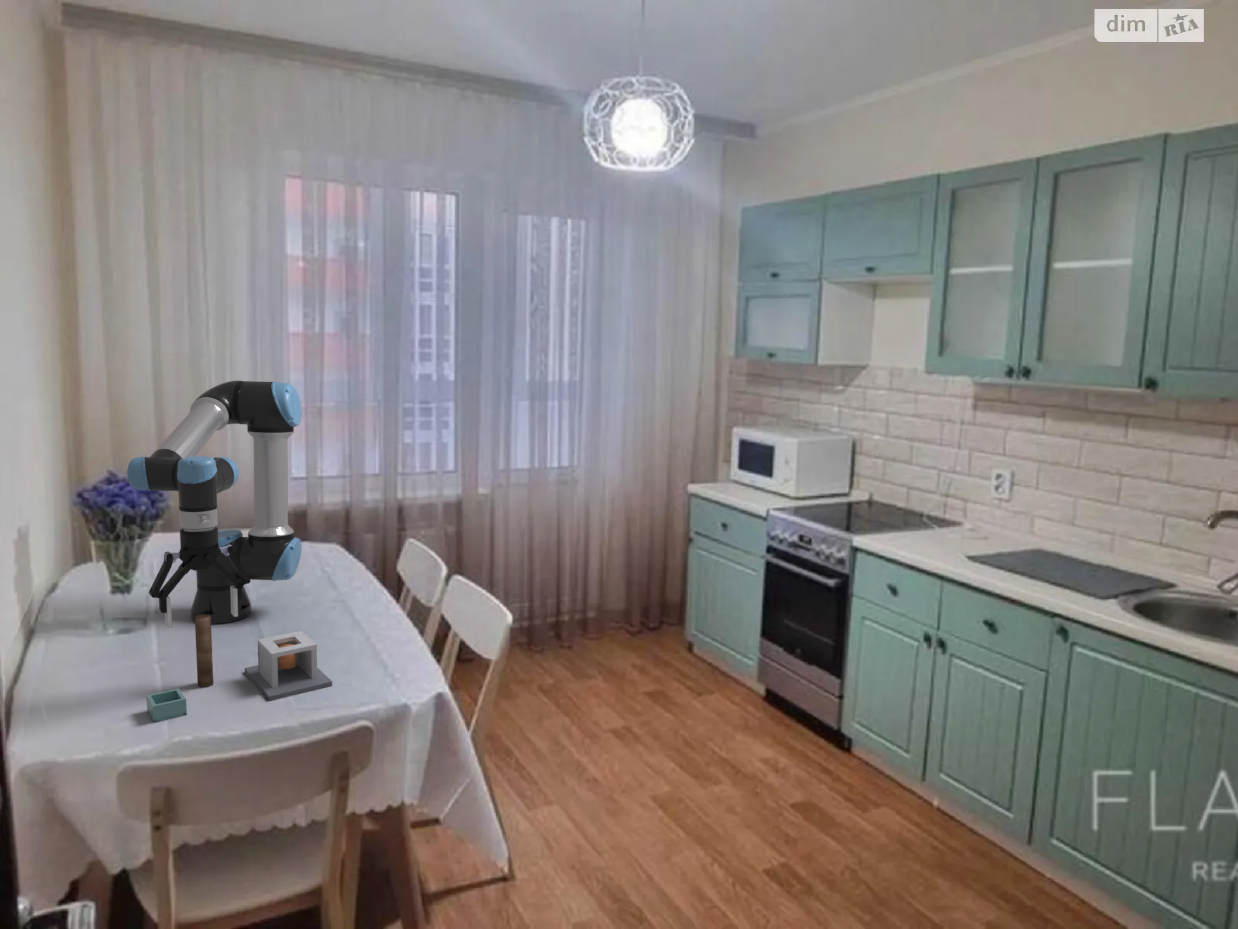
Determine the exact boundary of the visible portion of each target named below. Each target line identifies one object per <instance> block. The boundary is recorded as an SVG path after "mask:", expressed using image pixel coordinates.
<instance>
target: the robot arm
mask: <svg viewBox="0 0 1238 929" xmlns="http://www.w3.org/2000/svg"><path fill="white" fill-rule="evenodd" d="M302 413H303V412H302V405H301V399H300V396H299V393H298V391H297V388H295V387H294V385H292V384H290V383H288V382H287V383H286V382H282V381H281V382H278V381H255V380H253V381H252V380H250V381H249V380H230V381H226V382H223V383H220V384H217V385H216V386H213V387H211V388H209V389H208V390H206V391H204V392H203V393H202V394H200V395H199V396H198V397H196V399H195V400H194V401H193V402H192V403H191V405H190V408H189V413H188V414H187V415H186V416H185V418H183V420H182V421H181V422H180V423H179V424H178V425H177V426H176V428H174V430H173V431H172V432H171V433H170V434H168V436H167V437H166V439H165V440H164V441H163V442H162V443H161V444H160V445H159V446H158V447H157V449H156V450H154V452H153V453H152V454H151V455H150V456H136V457H133V458H132V459H131V460H130V462H129V463H128V466H127V469H126V470H127V471H126V478H127V480H128V484H129V485H130V487H131V488H132V489H135V490H141V491H148V492H152V491H158V492H159V491H160V492H163V491H164V492H178V514H179V516H178V518H179V527H180V528H181V529H180V530H179V540H180V542H179V544H180V545H179V546H180V548H179V551H178V552H170V551H165V552H164V553H163V562H162V565H161V567H160V569H159V570H158V573H157V575H156V576H155V578H154V580H153V582H152V585H151V587H150V589H149V590H148V594H149V595H150V597H151V598H153V599H158V609H159V612H160V613H161V614H164V624H165V626H166V627H167V629H172V628H173V622H172V621H173V620H172V619H173V618H172V600H171V597H170V596H169V595H170V594H171V593H172V592H173V591H174V589H175V588H176V586H177V585H178V584H179V583H180V582H181V581H182V580H183V578H184V577H185V576H186V575H187V574H188V573H189V572H190V571H195V573H196V574H195V575H196V576H195V577H196V592H195V595H194V599H193V601H192V604H191V608H190V618H191V621H193V622H195V617H196V616H199V615H210V616H211V625H217V624H218V625H219V624H221V625H222V624H228V623H233V622H237V621H240V620H243V619H246V618H248V617H249V616H250V615H251V614H252V602H251V600H250V598H249V596H248V593H247V590H246V588H245V585H248V584H250V583H251V580H252V581H253V580H254V581H258V580H259V581H272V582H276V581H287V580H291V578H293V577H294V575H295V574H296V572H297V569H298V568H299V564H300V560H301V556H302V541H301V539H300V538H298V537H295V536H294V534H295V530H294V529H293V528H292V527H291V526H290V525H289V513H288V512H289V460H288V459H289V453H288V452H289V448H288V446H289V444H288V441H289V438H290V437H291V436H292V435H293V434H294V432H295V431H294V430H295V427H299V425H300V423H302V422H301V421H302ZM227 425H246V427H247V434H249V435H250V436H251V437H252V438H253V526H252V527H251V529H249V530H248V532H247V536H243V535H244V534H243V532H242V531H241V530H240V529H239V530H238V529H223V530H219V528H217V526H218V525H219V523H218V522H219V521H218V519H219V518H218V494H219V493H222V492H224V491H226V490H229V489H231V487H232V486H233V485H235V484H236V483H237V481H238V480H239V475H240V471H239V467H238V465H237V464H236V462H235V461H234V460H232V459H231V458H229V457H225V456H219V457H216V456H215V457H211V456H205V455H198V454H199V452H201V450H202V449H203V448H204V447H205V445H206V444H207V442H208V441H209V440H210V439H211V437H213V435H214V434H215V433H216V432H217V431H220V430H222V429H224V428H225V427H226V426H227ZM178 559H179V560H180V561H182V562H181V563H180V564H179V566H178V568H177V570H175V572H174V573H173V574H172V576H171V577H170V578H169V579H168V581H167V582H166V583H165V581H166V578H167V577H168V575H169V573H170V571H171V568H172V567H173V566H172V565H173V564H174V563H176V562H177V560H178ZM164 583H165V584H164Z"/></svg>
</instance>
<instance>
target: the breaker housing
mask: <svg viewBox="0 0 1238 929" xmlns="http://www.w3.org/2000/svg"><path fill="white" fill-rule="evenodd" d="M286 644H293V645H291V646H287V647H282V648H279V647H280V646H282V645H286ZM317 650H318V648H317V643H315V642H314V641H313V640H312V639H311V638H310V637H309V636H308V635H307V634H305V633H304V632H303V631H302V630H299V631H294V632H289V633H284V634H278V635H275V636H269V637H268V636H267V637H265V638H257V658H258V659H257V660H258V662H257V663H258V664H256V665H253V666H248V667H244V673H245V674H246V676H247V677H248V678H249V680H251V681H252V683H253V684H254V685H255V686H256V688H257V689H259V691H260V692H261V693H262V694H263V695H264V697H265V698H266V699H267V700H268V701H270V702H271V701H275V700H278V699H283V698H287V697H291V696H295V695H299V694H305V693H307V692H311V691H312V692H313V691H315V690H320V689H324V688H327V687H329V688H330V687H332V686H333V680H331V678H329V677H328V676H327V675H326V674H325V673H324V672H323V671H322V670H321V669H320V668H318V656H317V655H318V653H317ZM294 653H296V666H295V667H294V668H291V669H281V668H279V657H280V656H285V655H290V654H294Z"/></svg>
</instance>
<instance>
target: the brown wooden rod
mask: <svg viewBox="0 0 1238 929" xmlns="http://www.w3.org/2000/svg"><path fill="white" fill-rule="evenodd" d="M194 627H195V628H194V629H195V649H196V650H195V651H196V652H195V654H196V655H195V656H196V674H197V676H196V677H197V687H199V688H209V687H211V686H213V685H214V668H213V666H214V665H213V663H214V662H213V638H212V636H213V635H212V624H211V616H210V615H199V616H196V617H195V621H194Z"/></svg>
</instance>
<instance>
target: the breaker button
mask: <svg viewBox="0 0 1238 929" xmlns="http://www.w3.org/2000/svg"><path fill="white" fill-rule="evenodd" d="M291 645H293V644H286V645H282V646H280V647H279V648H282V647H287V646H291ZM295 666H296V653H294V654H290V655H285V656H280V657H279V668H281V669H291V668H294V667H295Z"/></svg>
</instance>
